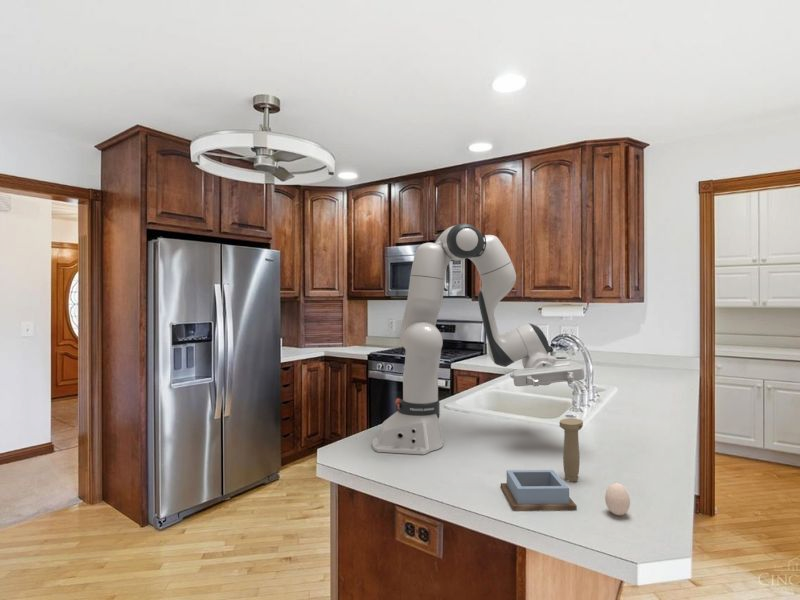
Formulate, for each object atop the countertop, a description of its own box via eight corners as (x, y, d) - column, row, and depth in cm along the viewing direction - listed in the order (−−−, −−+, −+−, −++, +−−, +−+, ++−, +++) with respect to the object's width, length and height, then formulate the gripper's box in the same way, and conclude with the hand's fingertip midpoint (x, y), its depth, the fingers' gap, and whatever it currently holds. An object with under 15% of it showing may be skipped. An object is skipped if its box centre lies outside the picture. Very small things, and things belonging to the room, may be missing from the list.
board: (512, 510, 99) (512, 506, 99) (500, 487, 111) (500, 483, 111) (576, 510, 99) (576, 505, 99) (557, 486, 111) (557, 482, 111)
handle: (555, 480, 115) (555, 421, 115) (569, 473, 119) (569, 417, 119) (573, 486, 111) (573, 425, 111) (587, 479, 115) (586, 421, 115)
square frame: (517, 504, 100) (517, 488, 100) (506, 484, 110) (506, 470, 110) (569, 504, 100) (569, 488, 100) (553, 484, 110) (553, 469, 110)
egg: (608, 507, 101) (608, 477, 100) (632, 513, 98) (632, 482, 97) (602, 515, 97) (602, 484, 97) (626, 522, 94) (626, 490, 94)
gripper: (507, 364, 141) (514, 374, 128) (574, 356, 139) (589, 366, 126) (510, 383, 142) (517, 396, 128) (577, 376, 140) (591, 388, 126)
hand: (553, 381), depth 127 cm, fingers open, 8 cm apart
